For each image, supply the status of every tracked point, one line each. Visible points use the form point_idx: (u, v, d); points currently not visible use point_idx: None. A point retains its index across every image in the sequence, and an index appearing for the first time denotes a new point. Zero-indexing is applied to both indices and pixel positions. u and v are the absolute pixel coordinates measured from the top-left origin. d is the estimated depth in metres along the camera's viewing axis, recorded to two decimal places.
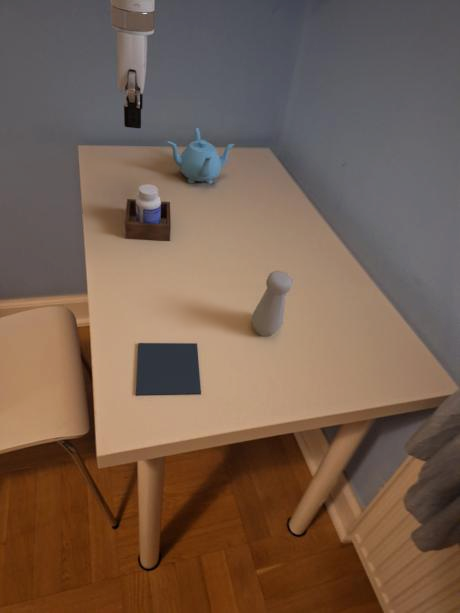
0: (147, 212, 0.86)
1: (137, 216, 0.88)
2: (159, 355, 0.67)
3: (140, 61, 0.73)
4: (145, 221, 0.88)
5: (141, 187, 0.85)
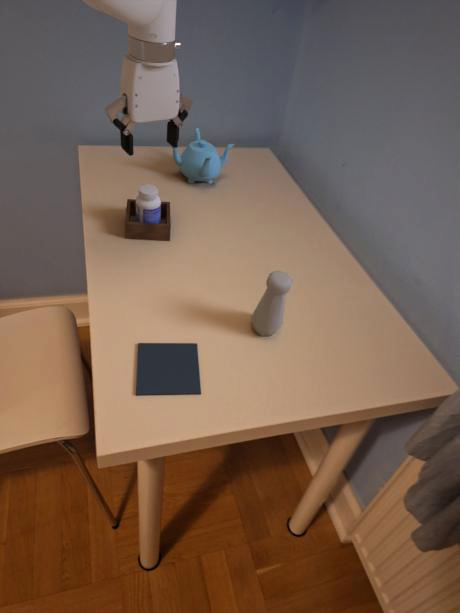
0: (147, 212, 0.86)
1: (137, 216, 0.88)
2: (159, 355, 0.67)
3: (130, 88, 0.68)
4: (145, 221, 0.88)
5: (141, 187, 0.85)
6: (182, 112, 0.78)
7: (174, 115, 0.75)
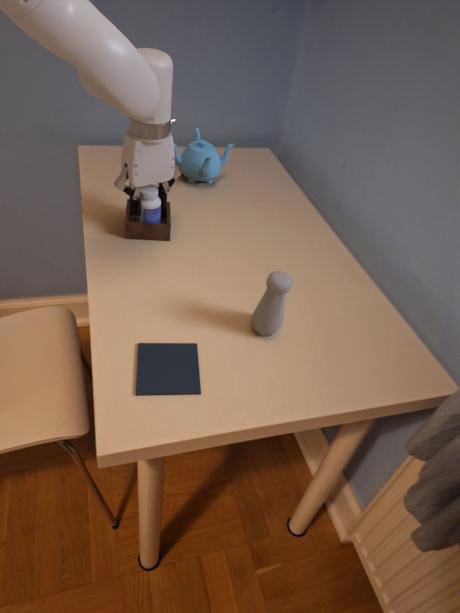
0: (147, 212, 0.86)
1: (137, 216, 0.88)
2: (159, 355, 0.67)
3: (130, 160, 0.77)
4: (145, 221, 0.88)
5: (141, 187, 0.85)
6: (169, 179, 0.86)
7: (170, 178, 0.84)
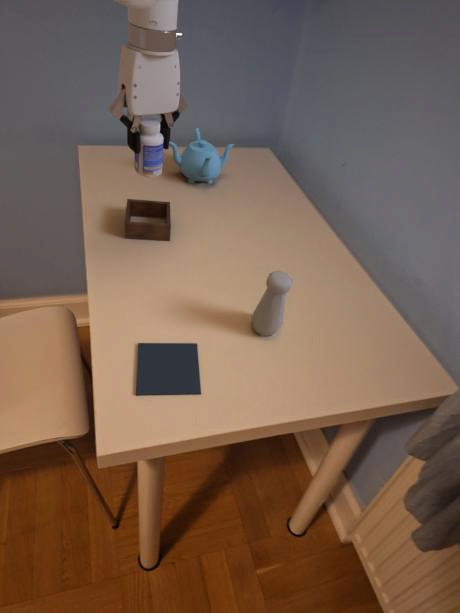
0: (148, 150, 0.75)
1: (136, 156, 0.77)
2: (159, 355, 0.67)
3: (129, 78, 0.65)
4: (145, 161, 0.76)
5: (141, 119, 0.74)
6: (173, 112, 0.75)
7: (174, 108, 0.73)
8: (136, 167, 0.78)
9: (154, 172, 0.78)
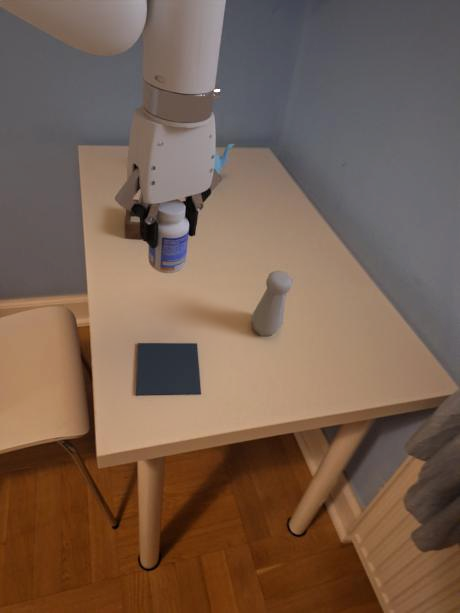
0: (168, 243, 0.54)
1: None
2: (159, 355, 0.67)
3: (145, 158, 0.44)
4: (164, 255, 0.55)
5: None
6: (203, 190, 0.54)
7: (205, 188, 0.52)
8: (151, 261, 0.57)
9: (175, 268, 0.57)
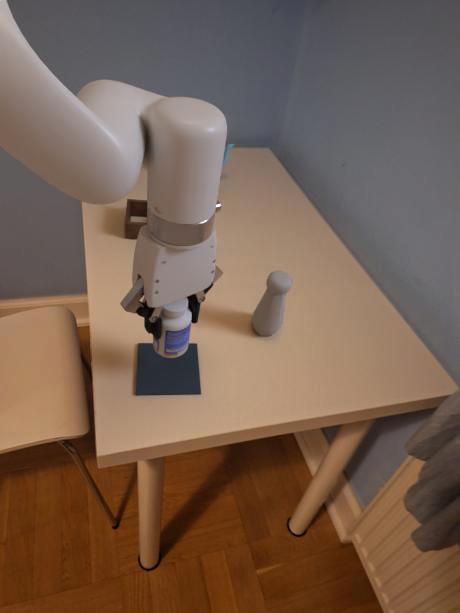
0: (171, 335, 0.56)
1: None
2: (159, 355, 0.67)
3: (149, 273, 0.46)
4: (168, 344, 0.58)
5: None
6: None
7: (207, 286, 0.54)
8: (155, 346, 0.60)
9: (178, 353, 0.60)
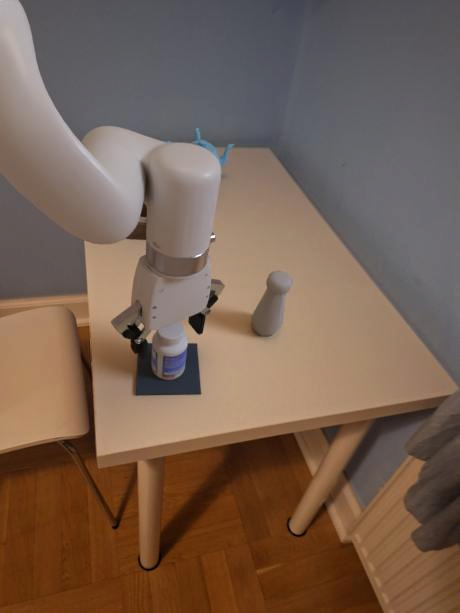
0: (169, 360, 0.60)
1: (154, 360, 0.62)
2: None
3: (147, 301, 0.50)
4: (165, 368, 0.62)
5: None
6: (211, 298, 0.60)
7: (202, 309, 0.57)
8: (154, 369, 0.64)
9: (175, 375, 0.64)
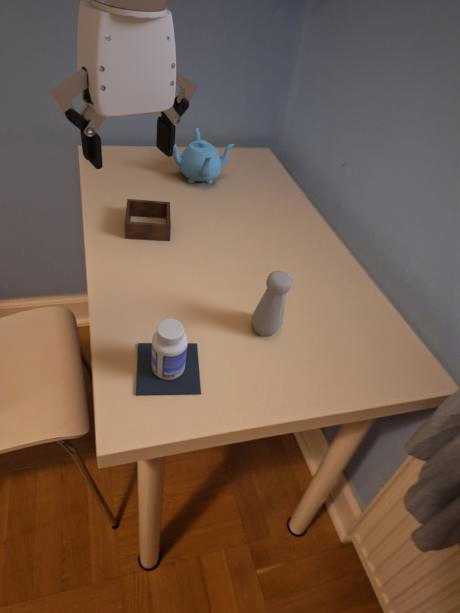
0: (169, 360, 0.60)
1: (154, 360, 0.62)
2: None
3: (92, 56, 0.40)
4: (165, 368, 0.62)
5: (160, 326, 0.59)
6: (180, 102, 0.50)
7: (167, 106, 0.47)
8: (154, 369, 0.64)
9: (175, 375, 0.64)
